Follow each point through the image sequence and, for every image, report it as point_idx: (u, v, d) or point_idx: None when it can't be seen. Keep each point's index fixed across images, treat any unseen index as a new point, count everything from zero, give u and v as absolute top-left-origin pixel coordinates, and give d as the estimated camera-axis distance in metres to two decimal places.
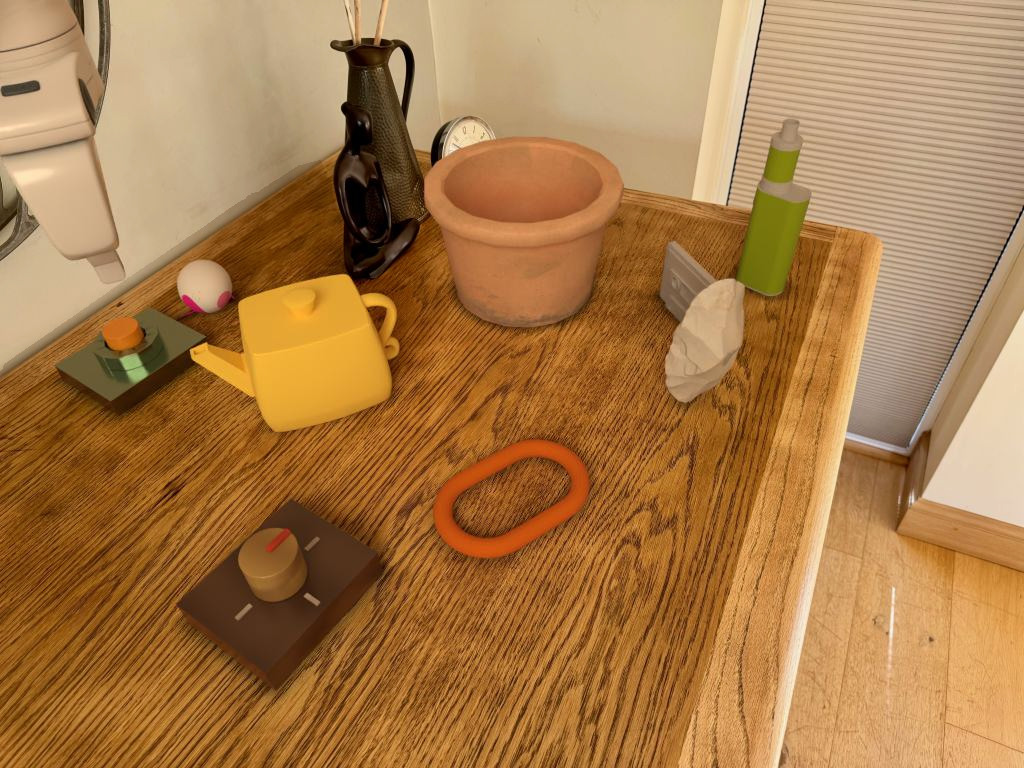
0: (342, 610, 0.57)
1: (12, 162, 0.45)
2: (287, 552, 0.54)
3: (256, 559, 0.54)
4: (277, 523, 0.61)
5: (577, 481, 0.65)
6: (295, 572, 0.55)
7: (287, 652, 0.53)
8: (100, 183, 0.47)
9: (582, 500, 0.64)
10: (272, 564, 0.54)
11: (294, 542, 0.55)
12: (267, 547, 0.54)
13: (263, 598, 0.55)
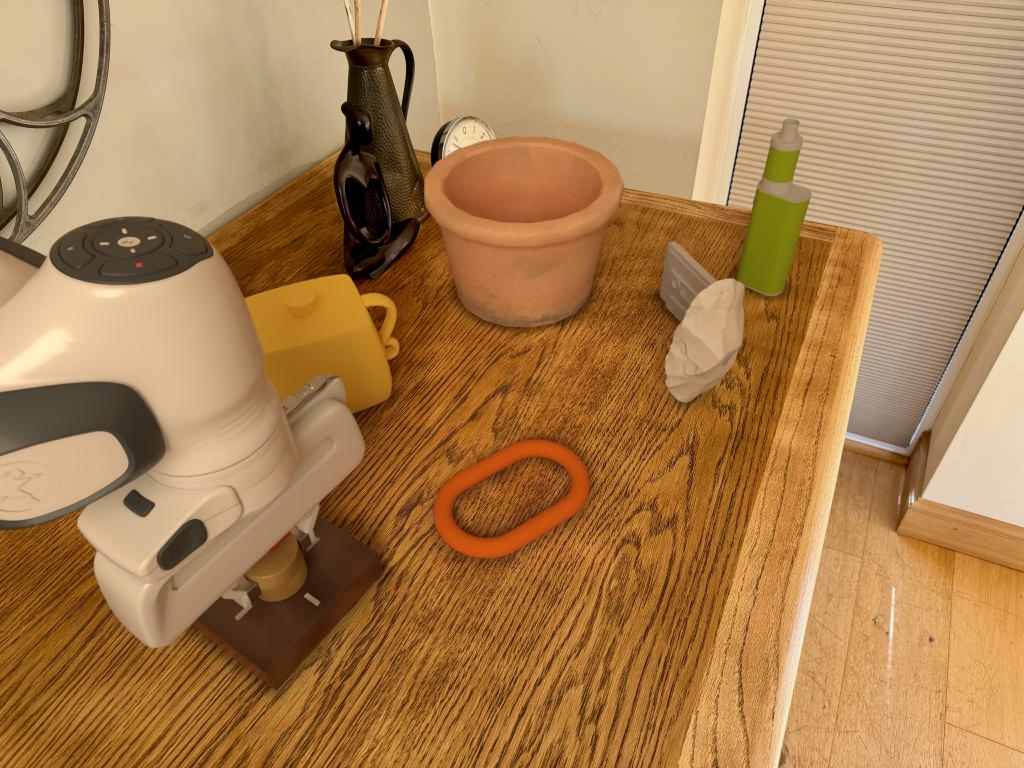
0: (342, 610, 0.57)
1: None
2: (287, 552, 0.54)
3: None
4: None
5: (577, 481, 0.65)
6: (295, 572, 0.55)
7: (287, 652, 0.53)
8: (144, 615, 0.43)
9: (582, 500, 0.64)
10: (272, 564, 0.54)
11: (294, 542, 0.55)
12: None
13: (263, 598, 0.55)
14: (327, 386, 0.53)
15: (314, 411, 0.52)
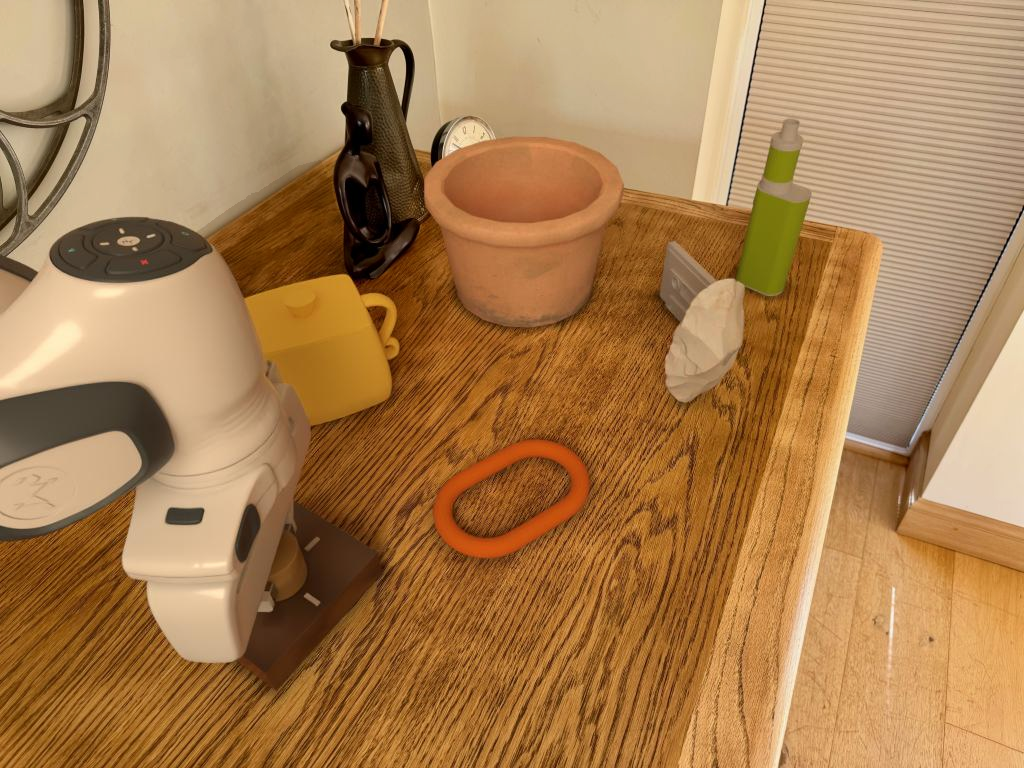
0: (342, 610, 0.57)
1: (153, 586, 0.42)
2: (287, 543, 0.55)
3: None
4: None
5: (577, 481, 0.65)
6: (301, 559, 0.56)
7: (287, 652, 0.53)
8: (230, 620, 0.43)
9: (582, 500, 0.64)
10: (281, 558, 0.54)
11: (288, 533, 0.56)
12: None
13: (278, 598, 0.55)
14: (269, 371, 0.54)
15: None
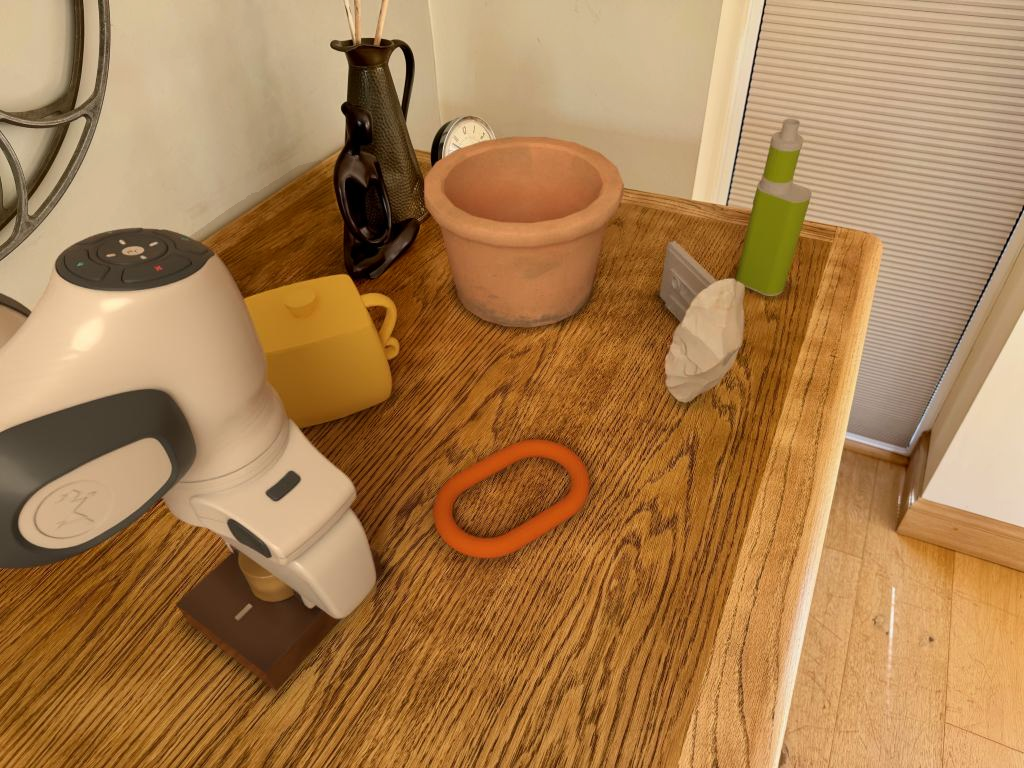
0: None
1: (302, 560, 0.44)
2: None
3: None
4: None
5: (577, 481, 0.65)
6: None
7: (287, 652, 0.53)
8: (366, 538, 0.47)
9: (582, 500, 0.64)
10: None
11: None
12: None
13: None
14: None
15: None
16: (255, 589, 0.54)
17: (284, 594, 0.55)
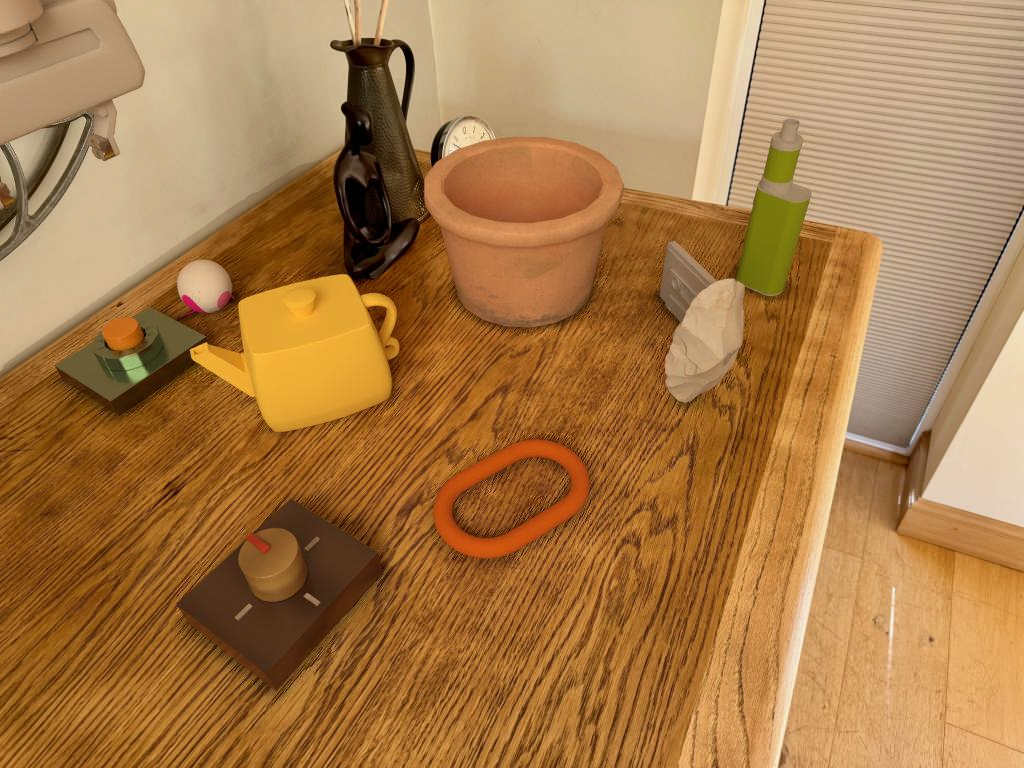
0: (342, 610, 0.57)
1: None
2: (274, 535, 0.56)
3: (273, 560, 0.54)
4: (277, 523, 0.61)
5: (577, 481, 0.65)
6: None
7: (287, 652, 0.53)
8: None
9: (582, 500, 0.64)
10: (285, 545, 0.55)
11: (265, 531, 0.56)
12: (264, 549, 0.54)
13: (302, 582, 0.56)
14: None
15: None
16: (255, 589, 0.54)
17: (284, 594, 0.55)
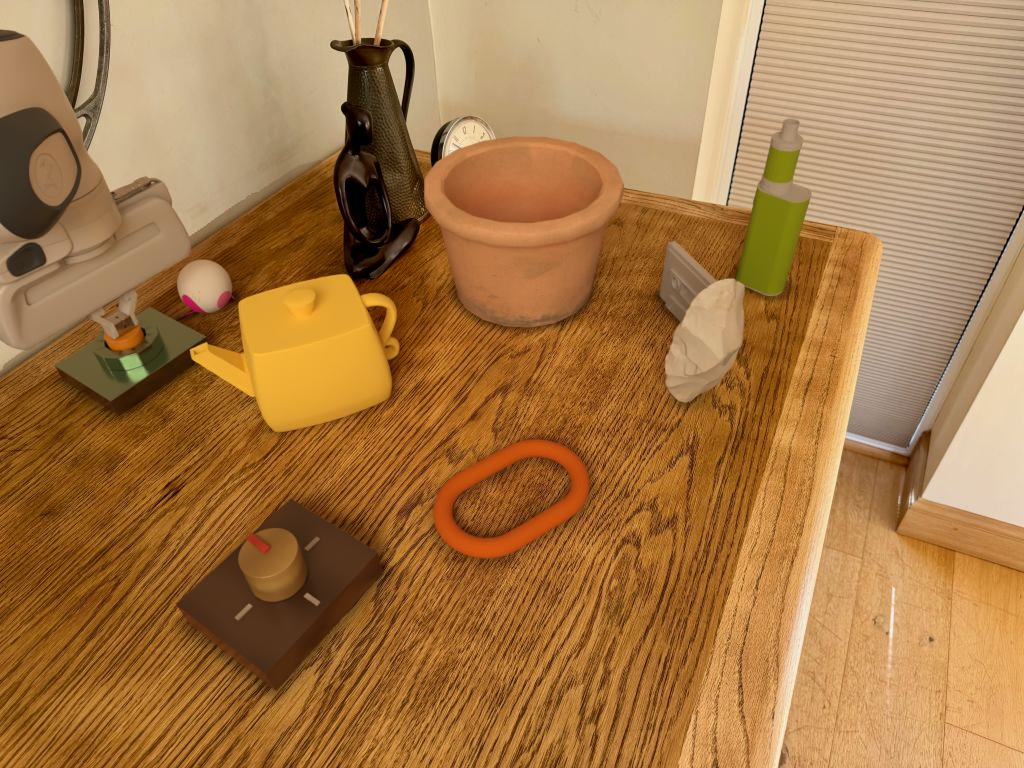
0: (342, 610, 0.57)
1: None
2: (274, 535, 0.56)
3: (273, 560, 0.54)
4: (277, 523, 0.61)
5: (577, 481, 0.65)
6: None
7: (287, 652, 0.53)
8: (3, 312, 0.63)
9: (582, 500, 0.64)
10: (285, 545, 0.55)
11: (265, 531, 0.56)
12: (264, 549, 0.54)
13: (302, 582, 0.56)
14: (152, 186, 0.73)
15: (140, 201, 0.72)
16: (255, 589, 0.54)
17: (284, 594, 0.55)
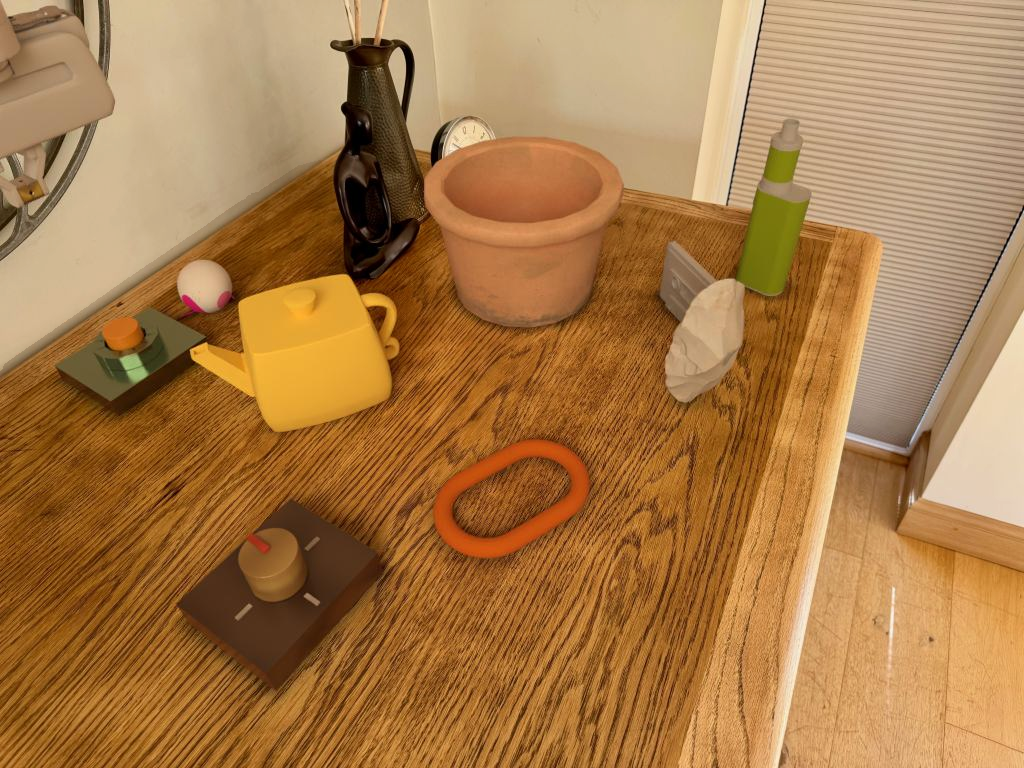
0: (342, 610, 0.57)
1: None
2: (274, 535, 0.56)
3: (273, 560, 0.54)
4: (277, 523, 0.61)
5: (577, 481, 0.65)
6: None
7: (287, 652, 0.53)
8: None
9: (582, 500, 0.64)
10: (285, 545, 0.55)
11: (265, 531, 0.56)
12: (264, 549, 0.54)
13: (302, 582, 0.56)
14: (63, 19, 0.61)
15: (47, 34, 0.60)
16: (255, 589, 0.54)
17: (284, 594, 0.55)
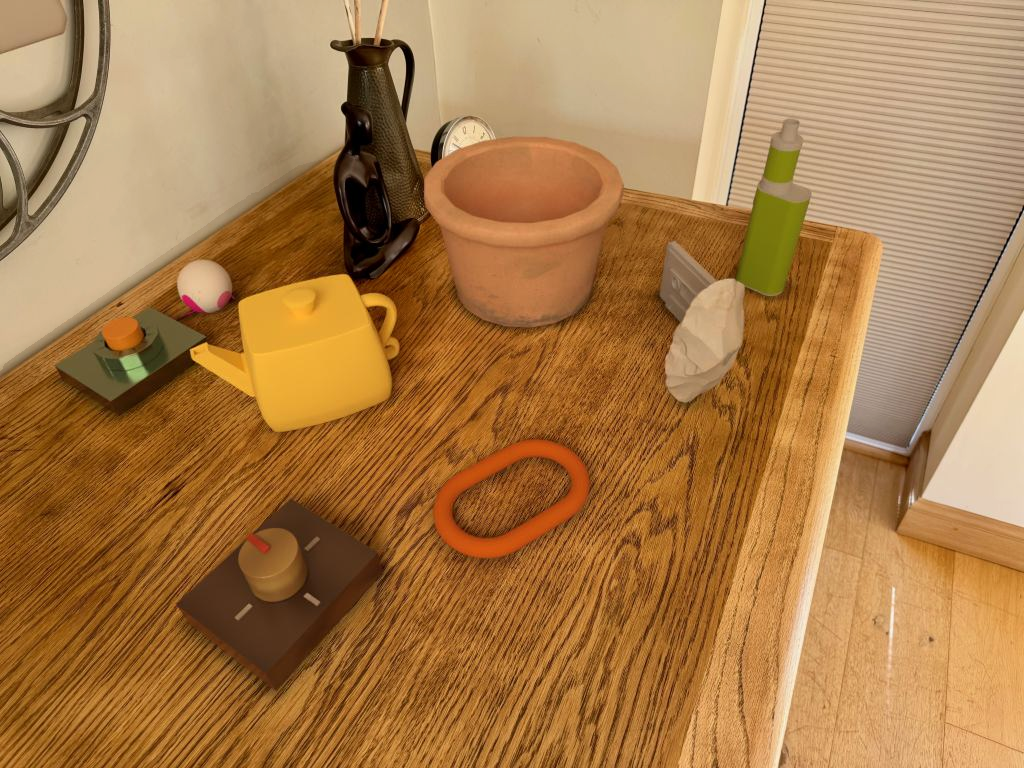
0: (342, 610, 0.57)
1: None
2: (274, 535, 0.56)
3: (273, 560, 0.54)
4: (277, 523, 0.61)
5: (577, 481, 0.65)
6: None
7: (287, 652, 0.53)
8: None
9: (582, 500, 0.64)
10: (285, 545, 0.55)
11: (265, 531, 0.56)
12: (264, 549, 0.54)
13: (302, 582, 0.56)
14: None
15: None
16: (255, 589, 0.54)
17: (284, 594, 0.55)
